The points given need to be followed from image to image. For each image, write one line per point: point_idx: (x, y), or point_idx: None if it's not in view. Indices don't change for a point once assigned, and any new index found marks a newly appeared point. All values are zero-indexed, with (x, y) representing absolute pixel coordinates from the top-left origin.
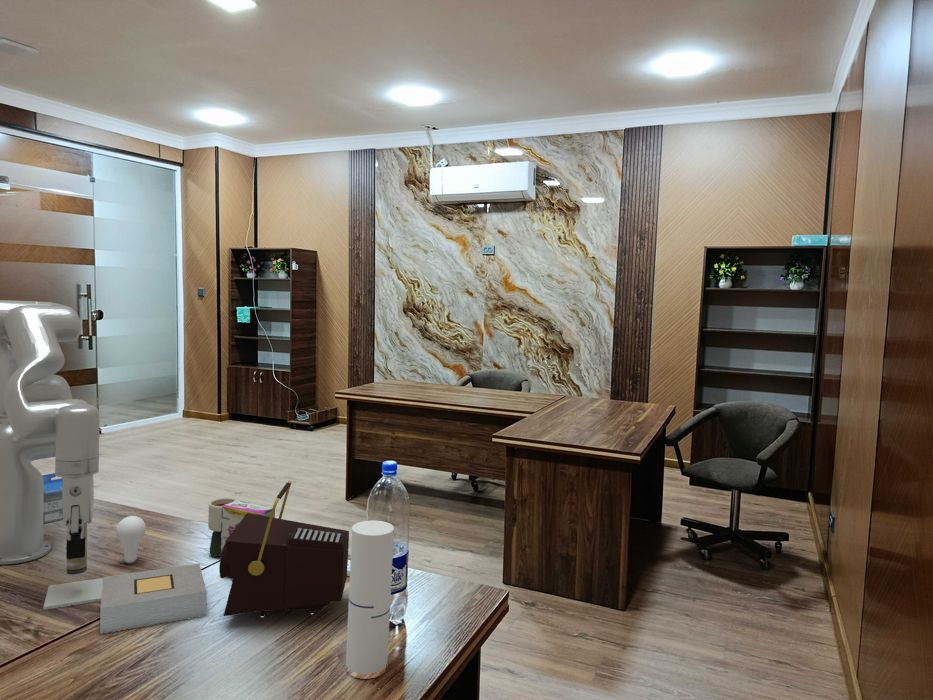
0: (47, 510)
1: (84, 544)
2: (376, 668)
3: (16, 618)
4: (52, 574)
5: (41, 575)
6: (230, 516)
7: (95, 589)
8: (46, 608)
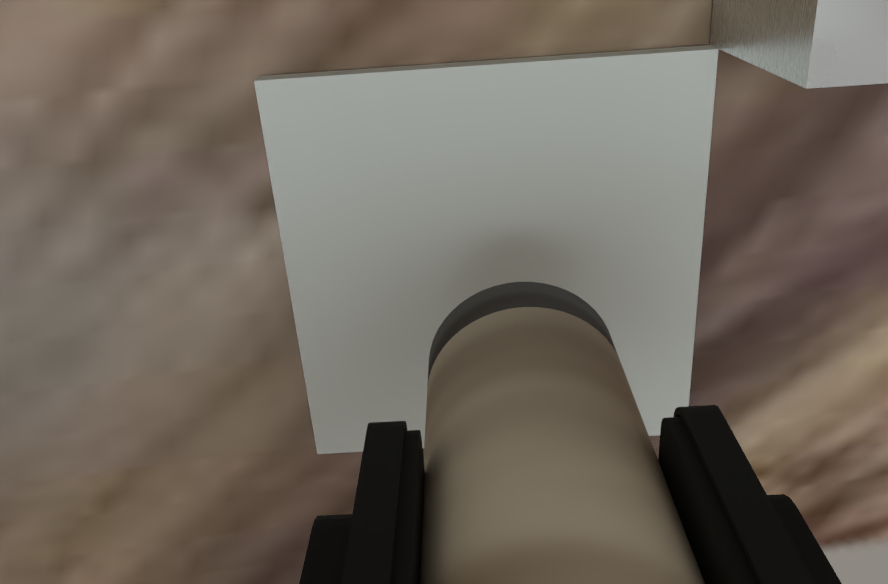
0: None
1: (789, 540)
2: None
3: None
4: (64, 455)
5: (74, 511)
6: None
7: (505, 130)
8: None
